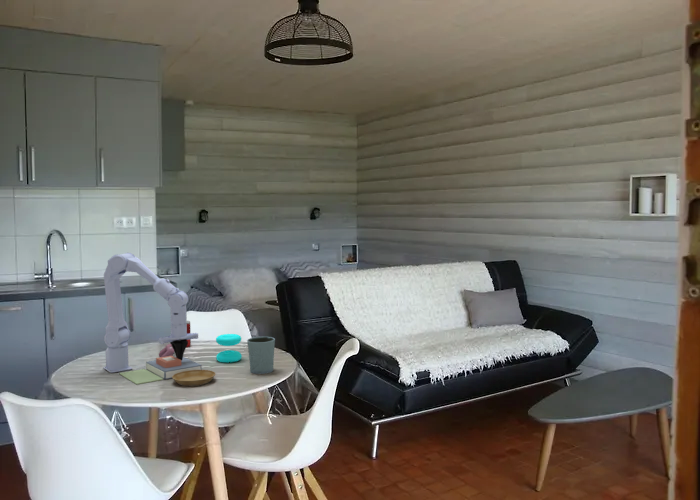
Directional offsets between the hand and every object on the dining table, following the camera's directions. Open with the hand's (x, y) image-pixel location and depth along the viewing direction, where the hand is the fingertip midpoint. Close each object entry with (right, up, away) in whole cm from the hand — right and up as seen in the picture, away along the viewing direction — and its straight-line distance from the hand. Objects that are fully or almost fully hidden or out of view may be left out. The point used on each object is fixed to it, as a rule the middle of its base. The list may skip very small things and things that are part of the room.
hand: (179, 360), depth 225 cm
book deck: (-2, -4, -1) cm, 5 cm away
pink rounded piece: (-11, -3, +20) cm, 22 cm away
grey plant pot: (+31, -4, -1) cm, 31 cm away
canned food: (-11, -2, +42) cm, 43 cm away
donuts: (+15, -3, +16) cm, 22 cm away
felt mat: (-12, -5, -8) cm, 15 cm away
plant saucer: (+9, -5, -15) cm, 18 cm away
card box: (-3, -1, -3) cm, 4 cm away
